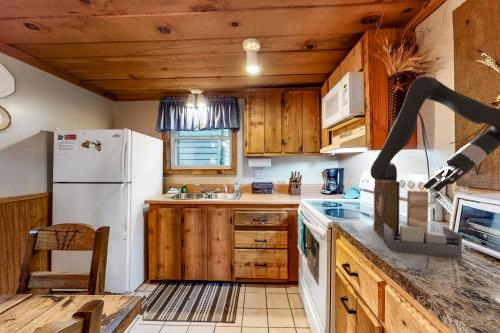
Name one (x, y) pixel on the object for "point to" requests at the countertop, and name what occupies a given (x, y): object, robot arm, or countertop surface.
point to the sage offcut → (411, 234)
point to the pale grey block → (434, 238)
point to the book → (386, 205)
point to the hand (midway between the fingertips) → (429, 188)
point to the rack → (425, 244)
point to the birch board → (417, 209)
